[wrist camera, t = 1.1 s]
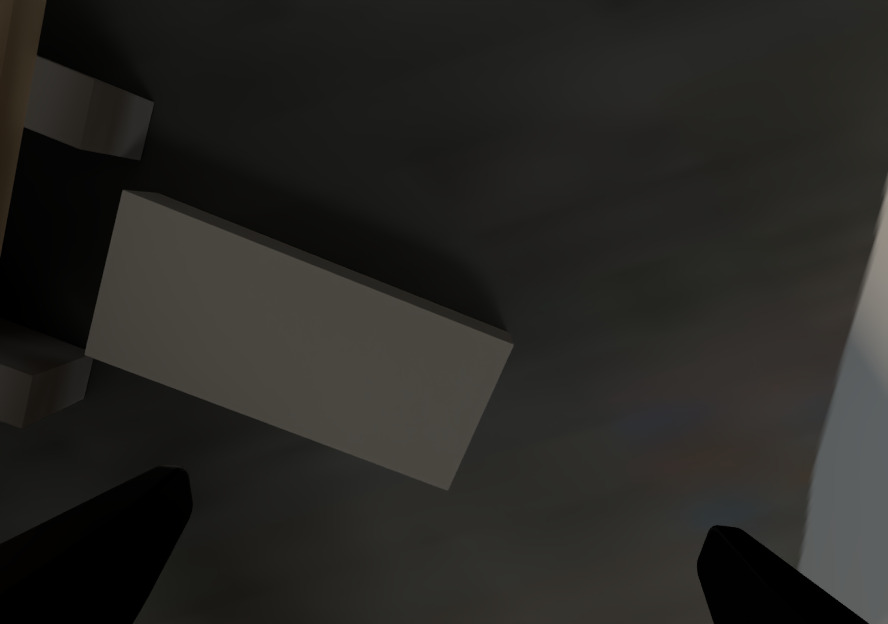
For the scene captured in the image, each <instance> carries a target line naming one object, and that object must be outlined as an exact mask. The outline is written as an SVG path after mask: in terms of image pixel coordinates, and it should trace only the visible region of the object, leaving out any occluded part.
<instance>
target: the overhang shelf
mask: <svg viewBox="0 0 888 624" xmlns="http://www.w3.org/2000/svg"><path fill="white" fill-rule="evenodd" d="M45 6H46V0H0V256H1V250H2V245H3V239H4V234H5V228H6V222H7V217H8V211H9V206H10V200H11V195H12V189H13V184H14V178H15V172H16V167H17V161H18V156H19V150H20V145H21V139H22V134H23V128H24V127H25V128H28V129H30V130H33V131H35V132H38V133H40V134H43V135H45V136H48V137H50V138H53V139H55V140H58V141H60V142H63V143H65V144H68V145H70V146H73V147H75V148H78V149H81V150H86V151H92V152H97V153H103V154H108V155H113V156H119V157H124V158H129V159H135V160H141V156H142V152H143V148H144V143H145V139H146V135H147V131H148V127H149V122H150V118H151V114H152V110H153V106H154V102H152V101H149V100H147V99H144V98H142V97H139V96H137V95H135V94H132V93H130V92H127V91H125V90H122V89H120V88H117V87H115V86H113V85H110V84H108V83H105V82H103V81H100V80H98V79H95V78H93V77H90V76H88V75H86V74H83V73H81V72H78V71H76V70H73V69H71V68H68V67H66V66H64V65H61V64H59V63H56V62H54V61H51V60H49V59H46V58H44V57H42V56H39V55H37V50H38V45H39V39H40V34H41V28H42V22H43V17H44V11H45ZM84 354H85V349H82V348H80V347H77V346H74V345H72V344H69V343H66V342H64V341H61V340H58V339H56V338H53V337H50V336H48V335H45V334H42V333H40V332H37V331H34V330H32V329H29V328H26V327H24V326H21V325H18V324H16V323H13V322H10V321H8V320H5V319H2V318H0V421H2V422H5V423H8V424H10V425H13V426H16V427H19V428H21V429H22V428H24V427H26V426H28V425H30V424H32V423H35V422H37V421H39V420H41V419H43V418H45V417H47V416H49V415H51V414H53V413H55V412H57V411H59V410H61V409H64V408H66V407H68V406H70V405H72V404H74V403H76V402H78V401H80V400H82V399H84V396H85V392H86V388H87V383H88V379H89V375H90V371H91V367H92V362H93V358H91V357H89V356H86V355H84Z"/></svg>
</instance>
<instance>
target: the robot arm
mask: <svg viewBox="0 0 888 624" xmlns="http://www.w3.org/2000/svg"><path fill="white" fill-rule="evenodd" d="M192 506H193V502H192V495H191V488H190V481H189V474H188V471H187V470H186V468H184V467H181V466H172V465H159V466H157V467H155V468H153V469H151V470H149V471H147V472H145V473H143V474H141V475H139V476H137V477H135V478H133V479H131V480H129V481H126V482H124V483H122V484H120V485H118V486H116V487H114V488H112V489H110V490H108V491H106V492H104V493H102V494H100V495H98V496H96V497H94V498H92V499H90V500H88V501H86V502H84V503H82V504H80V505H78V506H76V507H74V508H72V509H70V510H68V511H66V512H64V513H62V514H60V515H58V516H56V517H54V518H52V519H50V520H48V521H46V522H44V523H42V524H40V525H38V526H36V527H34V528H32V529H30V530H28V531H26V532H24V533H22V534H20V535H18V536H16V537H14V538H12V539H10V540H8V541H5V542H3V543H1V544H0V624H133V622H134V620H135V619H136V617H137V616H138V614H139V612H140V611H141V609H142V607H143V605H144V604H145V602H146V600H147V598H148V596H149V595H150V593H151V591H152V589H153V587H154V585H155V583H156V581H157V579H158V577H159V575H160V574H161V572H162V570H163V568H164V566H165V564H166V562H167V560H168V558H169V556H170V555H171V553H172V551H173V549H174V547H175V545H176V543H177V541H178V539H179V537H180V535H181V534H182V532H183V530H184V528H185V526H186V524H187V522H188V520H189V518H190V515H191V512H192ZM697 572H698V576H699V580H700V583H701V586H702V589H703V592H704V595H705V598H706V601H707V604H708V607H709V610H710V613H711V616H712V619H713V622H714V624H869V623H867V622H866V621H865V620H863V619H862V618H861V617H859V616H858V615H857V614H855V613H854V612H853V611H851V610H850V609H848V608H847V607H846V606H844V605H843V604H842V603H840V602H839V601H838V600H836V599H835V598H834V597H832V596H831V595H830V594H828V593H827V592H826V591H824V590H823V589H822V588H820V587H819V586H817V585H816V584H814V583H813V582H812V581H811V580H809V579H808V578H807V577H805V576H804V575H802V574H801V573H800V572H799V571H797V570H796V569H795V568H793V567H792V566H791V565H789V564H788V563H786V562H785V561H784V560H782V559H781V558H780V557H778V556H777V555H776V554H774V553H773V552H772V551H770V550H769V549H768V548H766V547H765V546H764V545H762V544H761V543H759V542H758V541H757V540H755V539H754V538H753V537H751V536H750V535H749V534H747V533H746V532H745V531H743V530H742V529H739V528H736V527H729V526H720V525H716V526H713V527H712V528H710V530H709V531H708V534H707V537H706V539H705V542H704V544H703V547H702V550H701V552H700V555H699V557H698V561H697Z"/></svg>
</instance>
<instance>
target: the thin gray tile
mask: <svg viewBox="0 0 888 624" xmlns="http://www.w3.org/2000/svg"><path fill="white" fill-rule="evenodd" d="M513 346H514V344H513V342H512V340H511V337H510V335H509V333H508V332H507V331H504V330H502V329H499V328H497V327H494V326H491V325H489V324H486V323H484V322H481V321H479V320H476V319H474V318H471V317H469V316H466V315H464V314H461V313H459V312H456V311H454V310H451V309H449V308H446V307H444V306H441V305H439V304H436V303H434V302H431V301H429V300H426V299H424V298H421V297H419V296H416V295H413V294H411V293H408V292H406V291H403V290H401V289H398V288H396V287H393V286H391V285H388V284H386V283H383V282H381V281H378V280H376V279H373V278H371V277H368V276H366V275H363V274H361V273H358V272H356V271H353V270H351V269H348V268H346V267H343V266H341V265H338V264H335V263H333V262H330V261H328V260H325V259H323V258H320V257H318V256H315V255H313V254H310V253H308V252H305V251H303V250H300V249H298V248H295V247H293V246H290V245H288V244H285V243H283V242H280V241H278V240H275V239H273V238H270V237H268V236H265V235H263V234H260V233H257V232H255V231H252V230H250V229H247V228H245V227H242V226H240V225H237V224H235V223H232V222H230V221H227V220H225V219H222V218H220V217H217V216H215V215H212V214H210V213H207V212H205V211H202V210H200V209H197V208H195V207H192V206H190V205H187V204H185V203H182V202H179V201H177V200H174V199H172V198H169V197H167V196H164V195H162V194H159V193H153V192H142V191H130V190H123V191H122V195H121V199H120V204H119V208H118V212H117V216H116V221H115V225H114V229H113V234H112V238H111V242H110V247H109V251H108V255H107V259H106V264H105V268H104V272H103V277H102V281H101V285H100V290H99V294H98V298H97V302H96V307H95V311H94V315H93V320H92V324H91V328H90V333H89V337H88V341H87V345H86V350H85V354H84V355H86V356H89V357H91V358H94V359H97V360H100V361H102V362H105V363H108V364H110V365H113V366H116V367H118V368H121V369H124V370H126V371H129V372H132V373H134V374H137V375H140V376H142V377H145V378H148V379H150V380H153V381H156V382H158V383H161V384H164V385H166V386H169V387H172V388H174V389H177V390H180V391H182V392H185V393H188V394H190V395H193V396H196V397H198V398H201V399H204V400H206V401H209V402H212V403H214V404H217V405H220V406H222V407H225V408H228V409H231V410H233V411H236V412H239V413H241V414H244V415H247V416H249V417H252V418H255V419H257V420H260V421H263V422H265V423H268V424H271V425H273V426H276V427H279V428H281V429H284V430H287V431H289V432H292V433H295V434H297V435H300V436H303V437H305V438H308V439H311V440H313V441H316V442H319V443H321V444H324V445H327V446H329V447H332V448H335V449H337V450H340V451H343V452H345V453H348V454H351V455H354V456H356V457H359V458H362V459H364V460H367V461H370V462H372V463H375V464H378V465H380V466H383V467H386V468H388V469H391V470H394V471H396V472H399V473H402V474H404V475H407V476H410V477H412V478H415V479H418V480H420V481H423V482H426V483H428V484H431V485H434V486H436V487H439V488H442V489H444V490H447V491H448V489H449V487H450V485H451V483H452V481H453V478H454V476H455V474H456V472H457V469H458V467H459V465H460V463H461V461H462V458H463V456H464V454H465V452H466V450H467V447H468V445H469V443H470V441H471V439H472V436H473V434H474V432H475V430H476V427H477V425H478V423H479V421H480V419H481V416H482V414H483V412H484V410H485V408H486V405H487V403H488V401H489V399H490V397H491V394H492V392H493V390H494V388H495V385H496V383H497V381H498V379H499V377H500V374H501V372H502V370H503V368H504V366H505V363H506V361H507V359H508V357H509V354H510V352H511V350H512V348H513Z"/></svg>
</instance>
